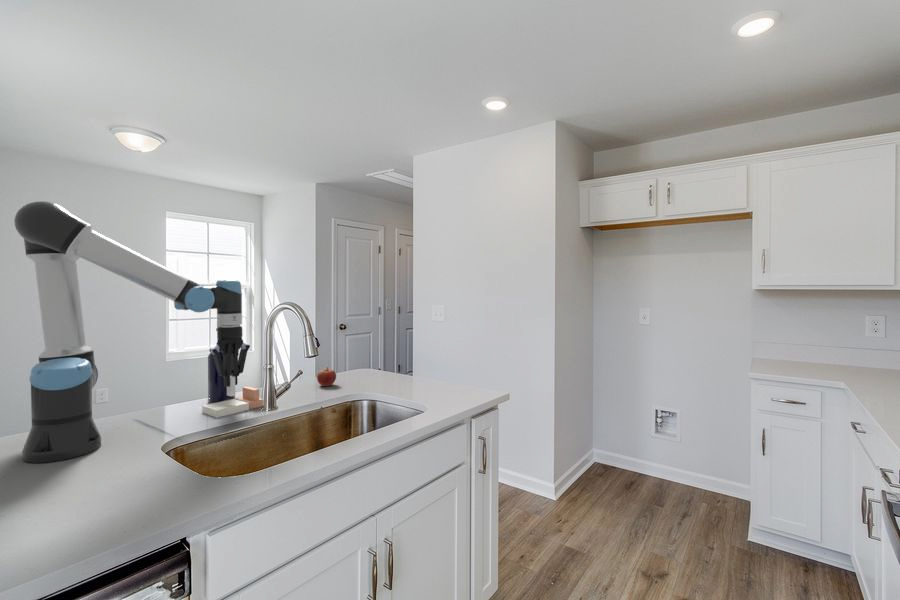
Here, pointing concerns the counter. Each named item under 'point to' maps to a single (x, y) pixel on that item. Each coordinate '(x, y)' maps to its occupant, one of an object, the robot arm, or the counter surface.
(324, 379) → the apple
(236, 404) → the cream rectangular slab
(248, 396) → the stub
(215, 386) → the bottle
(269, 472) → the counter surface
